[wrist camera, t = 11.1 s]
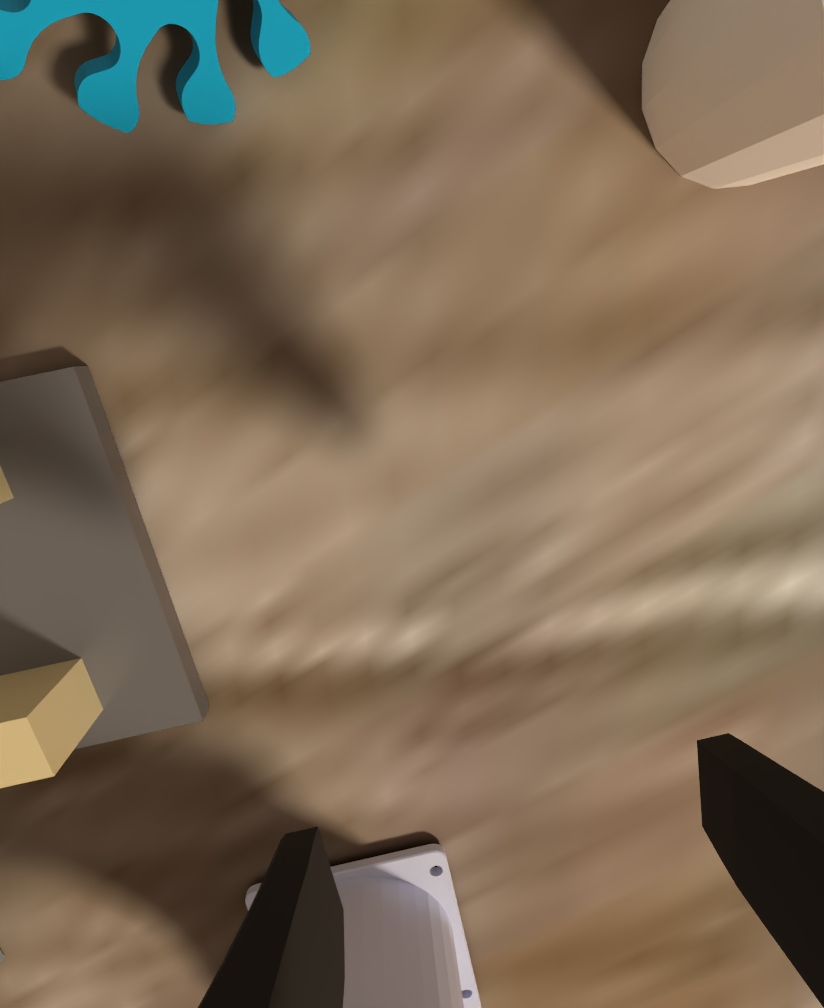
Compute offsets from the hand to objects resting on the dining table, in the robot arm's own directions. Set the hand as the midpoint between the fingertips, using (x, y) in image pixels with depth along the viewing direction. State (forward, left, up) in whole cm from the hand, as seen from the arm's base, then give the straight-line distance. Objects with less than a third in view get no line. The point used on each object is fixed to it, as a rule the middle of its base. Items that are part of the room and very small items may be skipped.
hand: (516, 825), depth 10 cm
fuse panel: (+4, +14, -9) cm, 17 cm away
